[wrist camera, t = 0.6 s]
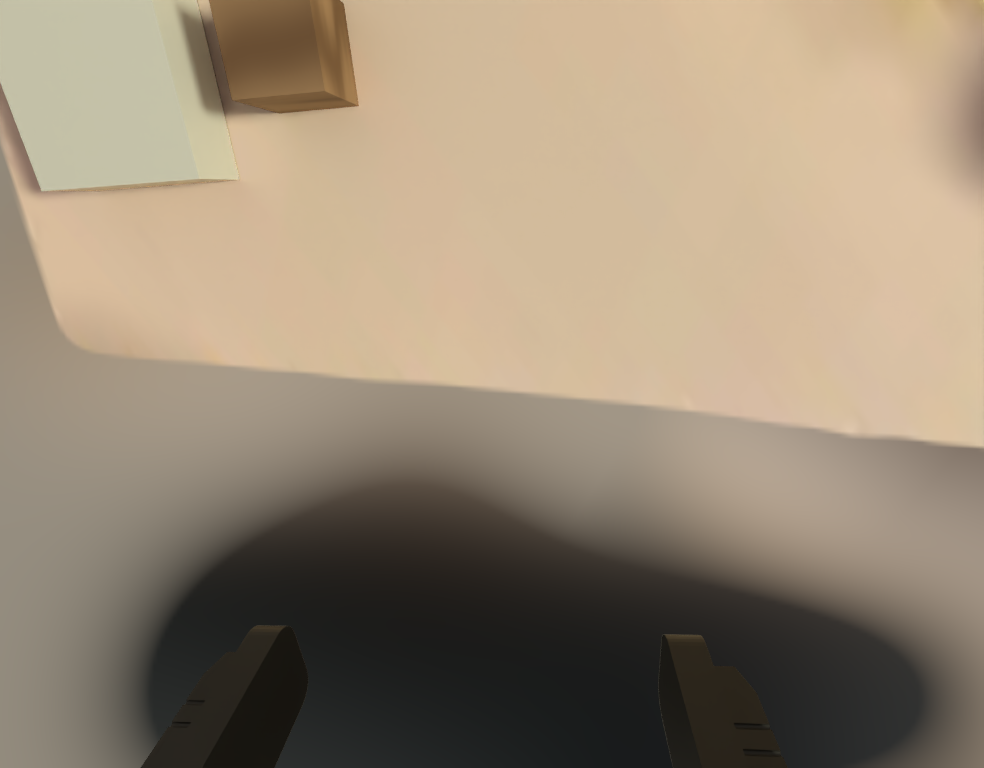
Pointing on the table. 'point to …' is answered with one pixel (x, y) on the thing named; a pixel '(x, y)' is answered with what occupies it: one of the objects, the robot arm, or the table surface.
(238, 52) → the walnut cube
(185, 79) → the base slab
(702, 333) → the table surface
